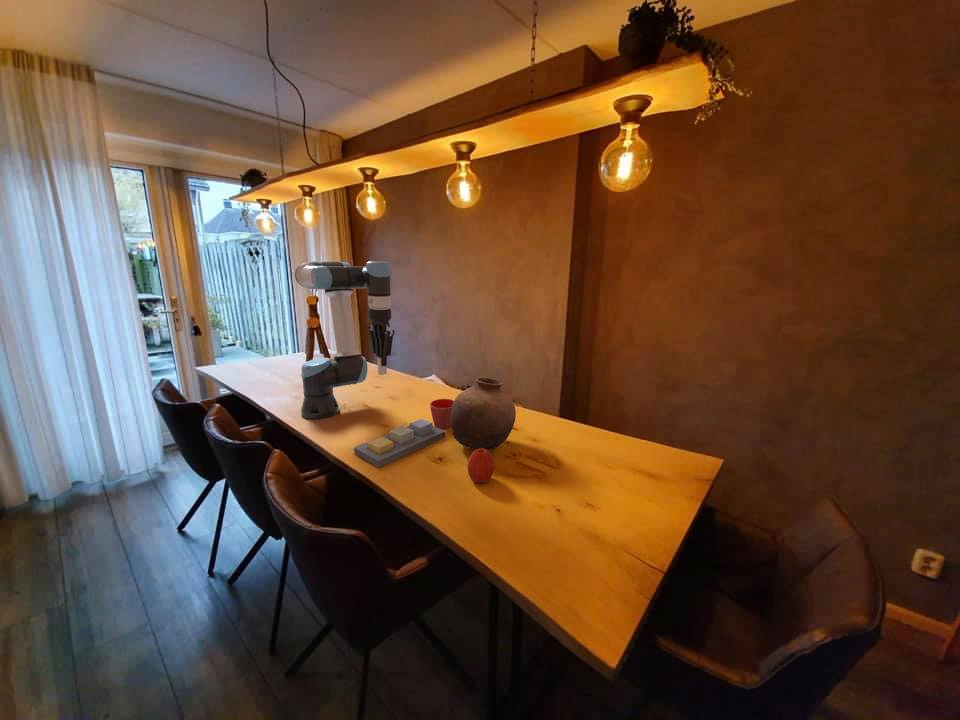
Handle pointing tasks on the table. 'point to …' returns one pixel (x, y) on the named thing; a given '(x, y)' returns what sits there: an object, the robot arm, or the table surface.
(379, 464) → the button board
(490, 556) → the table surface
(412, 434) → the sage button
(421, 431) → the blue button
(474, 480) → the red oval body
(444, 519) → the table surface
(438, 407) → the flower pot
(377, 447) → the ochre button
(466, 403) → the pottery
